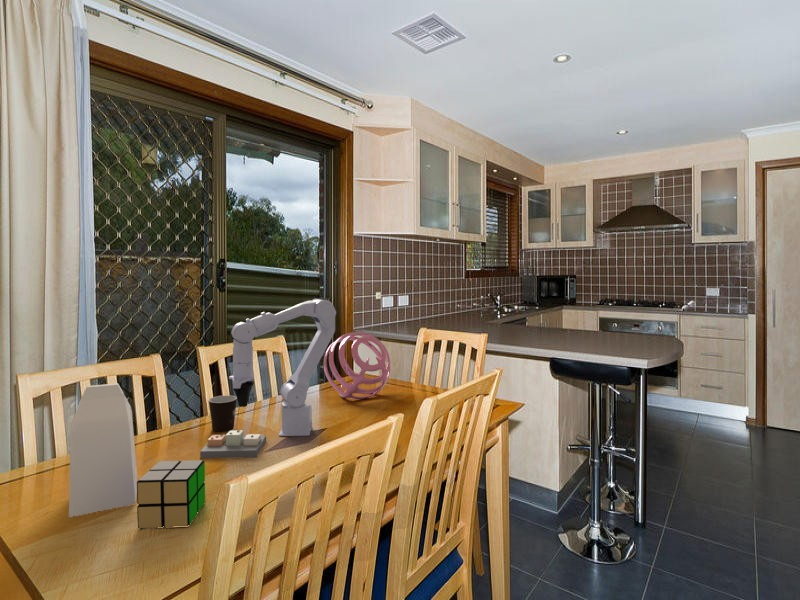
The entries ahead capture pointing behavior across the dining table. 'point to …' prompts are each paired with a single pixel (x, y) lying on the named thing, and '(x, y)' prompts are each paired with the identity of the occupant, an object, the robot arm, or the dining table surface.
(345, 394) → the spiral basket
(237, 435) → the pale green cube
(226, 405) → the coffee mug
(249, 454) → the button board
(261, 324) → the robot arm
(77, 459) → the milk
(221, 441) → the orange dice cube
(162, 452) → the dining table surface
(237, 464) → the dining table surface
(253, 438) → the cream single-knob block
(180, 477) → the puzzle cube
